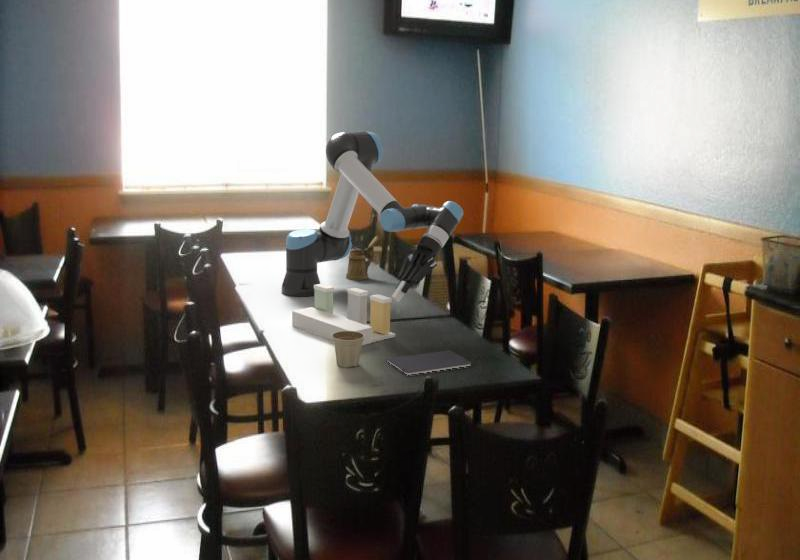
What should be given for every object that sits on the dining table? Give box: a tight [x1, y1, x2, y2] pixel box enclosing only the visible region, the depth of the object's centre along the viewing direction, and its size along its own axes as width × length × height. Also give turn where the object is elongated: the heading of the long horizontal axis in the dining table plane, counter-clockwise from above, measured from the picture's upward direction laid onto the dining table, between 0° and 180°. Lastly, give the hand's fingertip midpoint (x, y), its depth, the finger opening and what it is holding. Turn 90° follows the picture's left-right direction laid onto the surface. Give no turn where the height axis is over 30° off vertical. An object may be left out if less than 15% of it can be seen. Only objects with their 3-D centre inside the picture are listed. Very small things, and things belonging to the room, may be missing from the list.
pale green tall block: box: [313, 283, 335, 314], centre depth 270 cm, size 3×6×11 cm, turn 44°
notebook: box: [385, 349, 472, 376], centre depth 235 cm, size 13×2×21 cm
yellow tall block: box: [369, 293, 393, 334], centre depth 259 cm, size 3×6×11 cm, turn 44°
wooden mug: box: [345, 234, 380, 281], centre depth 337 cm, size 9×14×18 cm, turn 99°
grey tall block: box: [346, 287, 369, 325], centre depth 266 cm, size 3×6×11 cm, turn 44°
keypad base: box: [291, 306, 396, 346], centre depth 263 cm, size 18×30×5 cm, turn 44°
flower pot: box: [331, 331, 365, 368], centre depth 232 cm, size 9×9×9 cm
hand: (395, 299), depth 261 cm, fingers closed
